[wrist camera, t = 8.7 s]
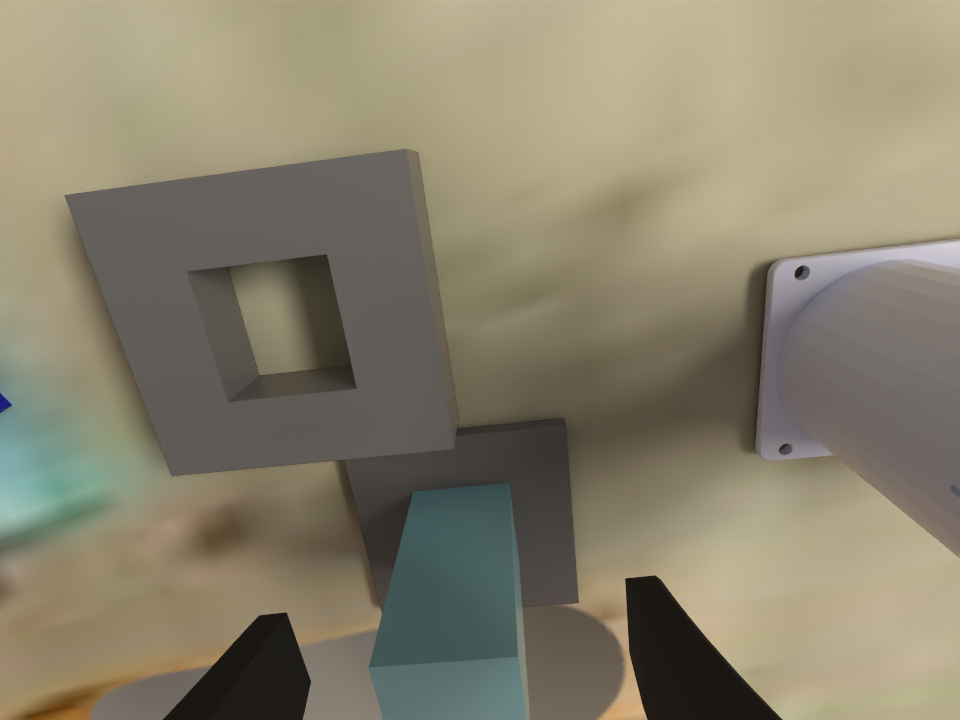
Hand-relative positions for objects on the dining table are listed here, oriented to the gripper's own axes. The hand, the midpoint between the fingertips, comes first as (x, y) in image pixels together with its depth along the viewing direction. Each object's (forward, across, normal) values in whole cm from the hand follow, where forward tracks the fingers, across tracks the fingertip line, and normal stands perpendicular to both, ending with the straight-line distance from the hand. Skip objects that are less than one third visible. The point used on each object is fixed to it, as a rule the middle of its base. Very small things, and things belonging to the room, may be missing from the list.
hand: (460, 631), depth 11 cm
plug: (+10, +1, +5) cm, 11 cm away
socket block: (+10, +6, -5) cm, 13 cm away
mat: (+10, +1, +5) cm, 12 cm away
